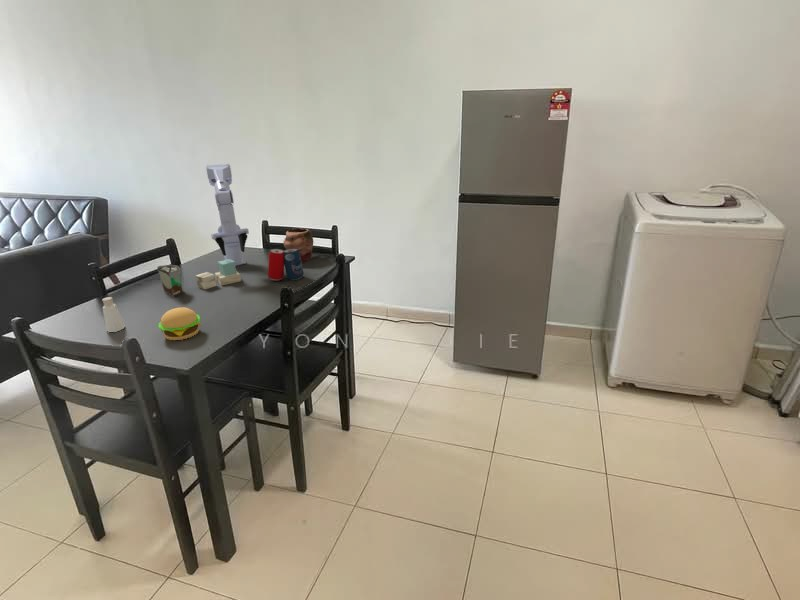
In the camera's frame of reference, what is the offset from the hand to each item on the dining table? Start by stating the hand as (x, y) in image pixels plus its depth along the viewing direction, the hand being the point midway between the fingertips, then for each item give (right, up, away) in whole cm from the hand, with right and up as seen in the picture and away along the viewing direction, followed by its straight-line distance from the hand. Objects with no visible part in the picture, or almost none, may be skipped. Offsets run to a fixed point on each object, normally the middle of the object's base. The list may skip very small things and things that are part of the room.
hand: (233, 253), depth 189 cm
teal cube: (-2, -8, -1) cm, 9 cm away
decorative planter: (+23, 0, +25) cm, 34 cm away
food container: (-18, -16, -11) cm, 27 cm away
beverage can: (+18, -11, -1) cm, 21 cm away
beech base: (-2, -12, 0) cm, 12 cm away
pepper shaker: (-23, -29, -41) cm, 56 cm away
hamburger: (0, -31, -45) cm, 55 cm away
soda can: (+26, -10, +1) cm, 28 cm away
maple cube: (-8, -14, -6) cm, 18 cm away
